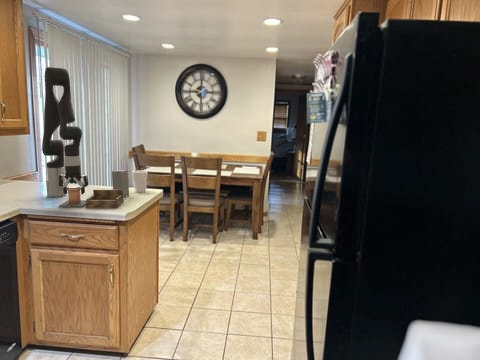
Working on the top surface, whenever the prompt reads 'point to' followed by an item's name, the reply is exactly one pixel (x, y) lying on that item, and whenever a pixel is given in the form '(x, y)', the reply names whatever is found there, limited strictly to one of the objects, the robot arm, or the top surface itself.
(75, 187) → the flowerpot
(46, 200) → the top surface
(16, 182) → the top surface
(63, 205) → the slate mat
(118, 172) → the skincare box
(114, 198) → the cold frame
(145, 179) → the foam cup
